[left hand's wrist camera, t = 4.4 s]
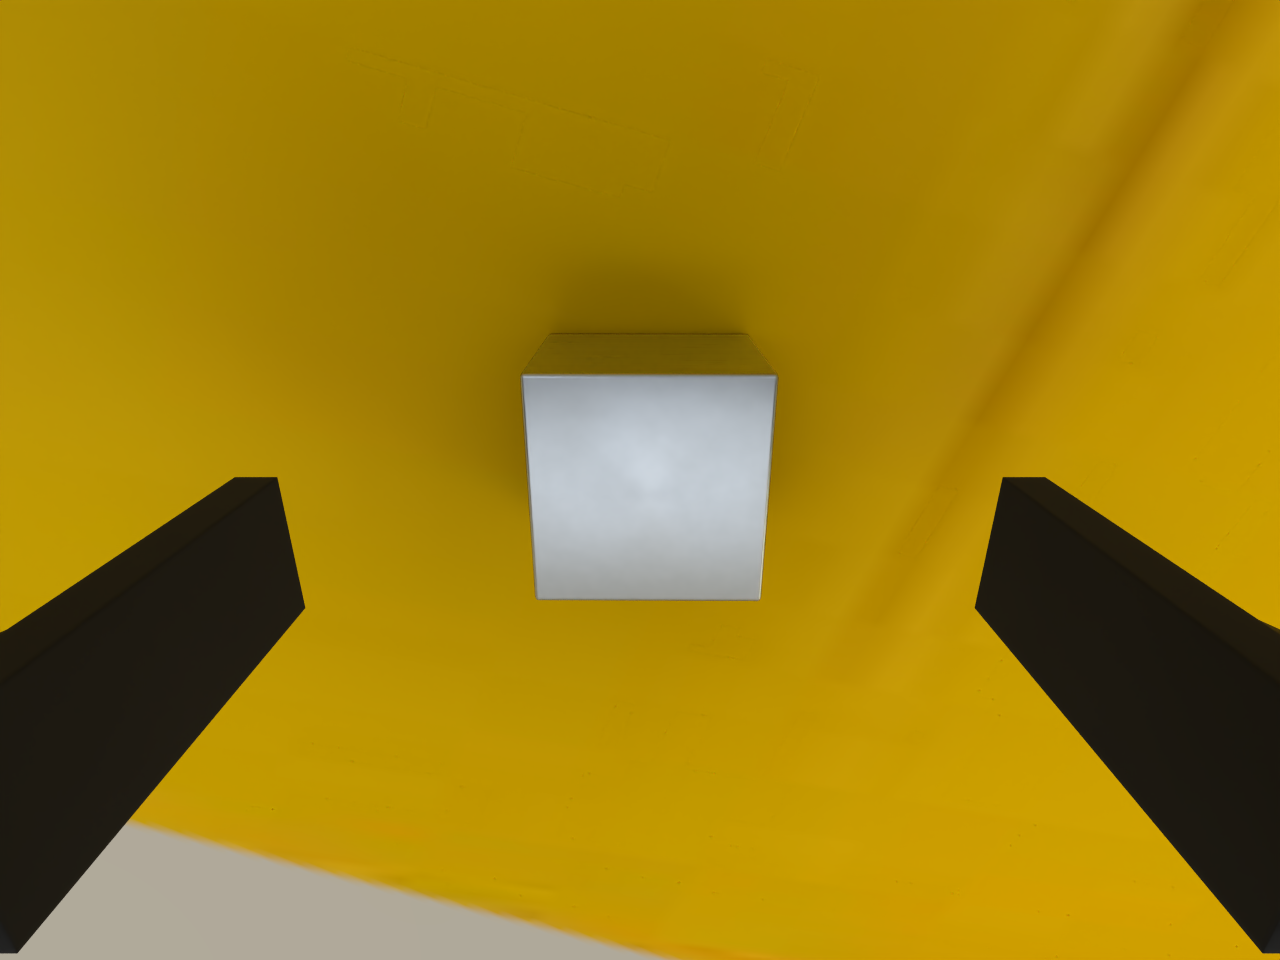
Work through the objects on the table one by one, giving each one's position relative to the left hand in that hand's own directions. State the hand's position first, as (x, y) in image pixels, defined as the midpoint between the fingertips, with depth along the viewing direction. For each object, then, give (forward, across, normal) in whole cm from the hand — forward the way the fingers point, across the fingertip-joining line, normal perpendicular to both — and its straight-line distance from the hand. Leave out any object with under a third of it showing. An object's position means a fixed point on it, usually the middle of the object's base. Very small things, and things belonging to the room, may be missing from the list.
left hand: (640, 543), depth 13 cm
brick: (+6, 0, 0) cm, 6 cm away
